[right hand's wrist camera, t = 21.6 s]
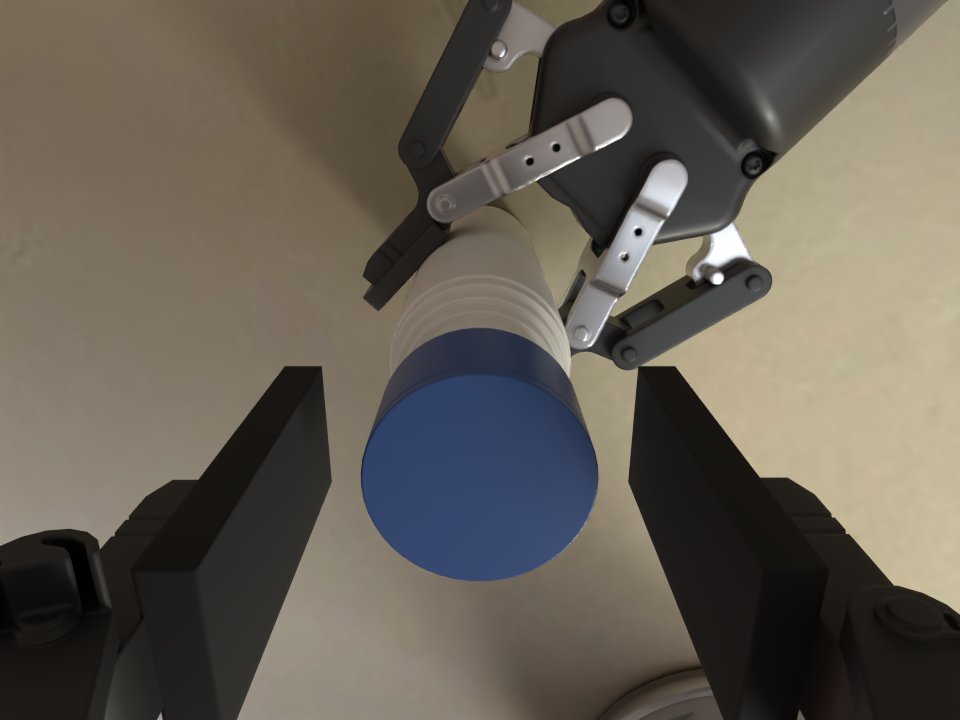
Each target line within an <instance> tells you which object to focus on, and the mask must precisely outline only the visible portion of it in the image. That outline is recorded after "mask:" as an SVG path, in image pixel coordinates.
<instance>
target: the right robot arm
mask: <svg viewBox="0 0 960 720" xmlns="http://www.w3.org/2000/svg"><path fill="white" fill-rule="evenodd" d="M331 482H332V480H331V468H330V457H329V445H328V434H327V422H326V411H325V400H324V388H323V377H322V366H285V367H284V368H283V370H282V371H281V372H280V373H279V375H278V376H277V377H276V379H275V380H274V381H273V383H272V384H271V385H270V387H269V388H268V389H267V391H266V392H265V393H264V394H263V396H262V397H261V398H260V400H259V401H258V402H257V404H256V405H255V406H254V408H253V409H252V410H251V412H250V413H249V414H248V415H247V417H246V418H245V419H244V421H243V422H242V423H241V425H240V426H239V427H238V429H237V430H236V431H235V433H234V434H233V435H232V436H231V438H230V439H229V440H228V442H227V443H226V444H225V446H224V447H223V448H222V450H221V451H220V452H219V454H218V455H217V456H216V457H215V459H214V460H213V461H212V463H211V464H210V465H209V467H208V468H207V469H206V471H205V472H204V473H203V475H202V476H201V477H200V478H199V480H172V481H170V482H169V483H167V484H165V485H164V486H162V487H161V488H159V489H157V490H156V491H154V492H152V493H151V494H149V495H148V496H146V497H145V498H144V499H143V501H142V502H141V503H140V504H139V505H138V506H137V508H136V509H135V510H134V511H133V512H132V513H131V514H130V516H129V520H125V521H124V523H123V524H122V525H121V526H120V527H119V528H118V529H117V531H116V532H115V536H114V537H111V538H110V539H109V540H108V541H107V542H106V543H105V544H104V546H103V547H102V548H101V549H100V548H99V544H98V540H97V539H96V538H95V537H93V536H92V535H91V534H89V533H88V532H84V531H79V530H73V529H61V530H48V531H43V532H39V533H35V534H31V535H27V536H23V537H20V538H18V539H16V540H13V541H11V542H9V543H6V544H4V545H1V546H0V720H157V718H158V717H159V715H160V713H162V718H163V720H237V718H238V715H239V713H240V710H241V708H242V705H243V703H244V700H245V698H246V695H247V693H248V690H249V688H250V685H251V683H252V680H253V678H254V675H255V673H256V670H257V668H258V665H259V663H260V660H261V658H262V655H263V653H264V650H265V648H266V645H267V643H268V640H269V638H270V635H271V633H272V630H273V627H274V625H275V622H276V620H277V617H278V615H279V612H280V610H281V607H282V605H283V602H284V600H285V597H286V595H287V592H288V590H289V587H290V585H291V582H292V580H293V577H294V575H295V572H296V570H297V567H298V565H299V562H300V560H301V557H302V555H303V552H304V550H305V547H306V545H307V542H308V540H309V537H310V535H311V532H312V530H313V527H314V525H315V522H316V520H317V517H318V515H319V512H320V510H321V507H322V505H323V502H324V500H325V497H326V495H327V492H328V490H329V487H330V485H331ZM628 482H629V485H630V487H631V490H632V492H633V495H634V497H635V500H636V502H637V505H638V507H639V510H640V512H641V515H642V517H643V520H644V522H645V525H646V527H647V530H648V532H649V535H650V537H651V540H652V542H653V545H654V547H655V550H656V552H657V555H658V557H659V560H660V562H661V565H662V567H663V570H664V572H665V575H666V577H667V580H668V582H669V585H670V587H671V590H672V592H673V595H674V597H675V600H676V602H677V605H678V607H679V610H680V612H681V615H682V617H683V620H684V622H685V625H686V627H687V630H688V633H689V635H690V638H691V640H692V643H693V645H694V648H695V650H696V653H697V655H698V658H699V660H700V663H701V665H702V669H695V670H689V671H684V672H679V673H675V674H672V675H668V676H665V677H662V678H660V679H657V680H654V681H652V682H650V683H647V684H645V685H643V686H641V687H639V688H637V689H636V690H634V691H632V692H630V693H629V694H627V695H626V696H625V697H623V698H622V699H620V700H619V701H618V702H616V703H615V704H614V705H613V706H612V707H610V708H609V709H608V710H607V711H606V712H605V713H604V714H603V715H602V717H601V718H600V719H599V720H960V614H958V613H957V612H956V611H954V610H953V609H952V608H950V607H949V606H948V605H946V604H944V603H942V602H940V601H938V600H936V599H934V598H932V597H930V596H928V595H926V594H924V593H921V592H917V591H914V590H911V589H907V588H904V587H900V586H894V585H893V584H892V583H891V582H890V580H889V579H888V578H887V577H886V576H885V575H884V574H883V572H882V571H881V570H880V569H879V568H878V567H877V565H876V564H875V563H874V562H873V561H872V560H871V559H870V557H869V556H868V555H867V554H866V553H865V552H864V551H863V549H862V548H861V547H860V546H859V545H858V544H857V543H856V541H855V540H854V539H853V538H852V537H851V536H850V534H846V532H845V529H844V528H843V526H842V525H841V524H840V523H839V522H838V521H837V520H836V518H832V516H831V513H830V512H829V510H828V509H827V508H826V507H825V506H824V505H823V504H822V502H821V501H820V500H819V499H818V498H817V497H816V495H815V494H813V493H812V492H810V491H808V490H807V489H805V488H803V487H802V486H800V485H799V484H797V483H795V482H794V481H792V480H791V479H789V478H760V477H759V476H758V475H757V473H756V472H755V471H754V469H753V468H752V467H751V465H750V464H749V463H748V461H747V460H746V459H745V457H744V456H743V455H742V454H741V452H740V451H739V450H738V448H737V447H736V446H735V444H734V443H733V442H732V440H731V439H730V438H729V436H728V435H727V434H726V433H725V431H724V430H723V429H722V427H721V426H720V425H719V423H718V422H717V421H716V419H715V418H714V417H713V415H712V414H711V413H710V412H709V410H708V409H707V408H706V406H705V405H704V404H703V402H702V401H701V400H700V398H699V397H698V396H697V394H696V393H695V392H694V391H693V389H692V388H691V387H690V385H689V384H688V383H687V381H686V380H685V379H684V377H683V376H682V375H681V373H680V372H679V371H678V370H677V368H676V367H675V366H638V377H637V388H636V400H635V411H634V422H633V434H632V445H631V457H630V468H629V480H628Z"/></svg>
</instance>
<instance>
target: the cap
mask: <svg viewBox="0 0 960 720" xmlns="http://www.w3.org/2000/svg"><path fill="white" fill-rule="evenodd" d="M361 487H362V493H363V498H364V502H365V505H366V508H367V511H368V513H369V515H370V517H371V519H372V521H373V523H374V525H375V527H376V528H377V530H378V531H379V532H380V534H381V535H382V537H383V538H384V539H385V540H386V541H387V542H388V543H389V544H390V546H391V547H392V548H394V549H395V550H396V551H397V552H398V553H399V554H401V555H402V556H403V557H405V558H406V559H408V560H409V561H411V562H412V563H414V564H415V565H417V566H419V567H421V568H423V569H425V570H427V571H430V572H433V573H436V574H438V575H441V576H445V577H449V578H453V579H460V580H467V581H491V580H500V579H505V578H510V577H514V576H518V575H521V574H524V573H527V572H529V571H531V570H534V569H536V568H538V567H540V566H542V565H544V564H545V563H547V562H549V561H550V560H552V559H553V558H555V557H556V556H557V555H559V554H560V553H561V552H563V551H564V550H565V549H566V548H567V547H568V546H569V545H570V544H571V543H572V542H573V541H574V539H575V538H576V537H577V535H578V534H579V533H580V532H581V530H582V529H583V527H584V525H585V523H586V522H587V520H588V518H589V516H590V513H591V511H592V509H593V506H594V502H595V498H596V495H597V487H598V465H597V460H596V455H595V451H594V448H593V445H592V442H591V439H590V436H589V433H588V430H587V427H586V424H585V421H584V418H583V415H582V412H581V409H580V406H579V403H578V400H577V397H576V394H575V391H574V388H573V386H572V383H571V381H570V380H569V378H568V376H567V374H566V372H565V371H564V370H563V368H562V367H561V366H560V364H559V363H558V362H557V361H556V360H555V359H554V358H553V357H552V356H551V355H550V354H549V353H548V352H547V351H545V350H544V349H543V348H542V347H540V346H539V345H537V344H536V343H534V342H532V341H531V340H529V339H527V338H524V337H522V336H520V335H517V334H515V333H511V332H508V331H504V330H499V329H492V328H468V329H460V330H456V331H452V332H448V333H445V334H442V335H440V336H437V337H435V338H433V339H431V340H429V341H427V342H425V343H424V344H422V345H421V346H419V347H418V348H416V349H415V350H414V351H413V352H411V353H410V354H409V355H408V356H407V357H406V358H405V359H404V360H403V361H402V362H401V364H400V365H399V366H398V367H397V369H396V370H395V372H394V373H393V375H392V377H391V378H390V380H389V382H388V385H387V387H386V389H385V392H384V395H383V398H382V401H381V404H380V407H379V410H378V413H377V415H376V418H375V421H374V424H373V427H372V430H371V433H370V436H369V439H368V442H367V445H366V448H365V452H364V456H363V459H362V468H361Z"/></svg>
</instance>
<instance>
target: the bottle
mask: <svg viewBox="0 0 960 720" xmlns="http://www.w3.org/2000/svg"><path fill="white" fill-rule="evenodd" d="M468 328H492V329H499V330H504V331H508V332H511V333H515V334H517V335H520V336H522V337H524V338H527V339H529V340H531V341H532V342H534V343H536V344H537V345H539V346H540V347H542V348H543V349H544V350H545V351H547V352H548V353H549V354H550V355H551V356H552V357H553V358H554V359H555V360H556V361H557V362H558V363H559V364H560V366H561V367H562V368H563V370H564V371H565V372H566V374H567V376H568V378H569V375H570V365H571V352H570V346H569V340H568V337H567V334H566V330H565V328H564V325H563V322H562V320H561V317H560V315H559V312H558V310H557V307H556V304H555V302H554V299H553V297H552V294H551V291H550V289H549V286H548V284H547V281H546V278H545V276H544V273H543V271H542V268H541V266H540V263H539V260H538V258H537V255H536V253H535V250H534V247H533V245H532V242H531V240H530V237H529V235H528V233H527V231H526V230H525V228H524V227H523V226H522V224H521V223H520V222H519V221H518V220H517V219H516V218H515V217H513V216H512V215H511V214H509V213H508V212H506V211H504V210H502V209H499V208H496V207H492V206H487V205H484V206H482V207H480V208H478V209H476V210H474V211H472V212H470V213H469V214H467V215H465V216H463V217H461V218H459V219H457V220H455V221H453V222H452V224H451V229H450V233H449V236H448V237H447V238H446V239H445V241H444V242H443V243H442V244H441V245H440V246H439V247H438V248H437V249H436V250H435V251H434V252H433V253H432V254H431V255H430V256H429V257H428V258H427V259H426V260H425V262H424V263H423V264H422V265H421V266H420V267H419V268H418V271H417V274H416V276H415V279H414V281H413V284H412V286H411V289H410V291H409V294H408V297H407V299H406V302H405V304H404V307H403V309H402V312H401V314H400V317H399V319H398V322H397V325H396V327H395V330H394V333H393V336H392V339H391V344H390V350H389V366H390V377H392V375H393V373H394V372H395V370H396V369H397V367H398V366H399V365H400V364H401V362H402V361H403V360H404V359H405V358H406V357H407V356H408V355H409V354H410V353H411V352H413V351H414V350H415V349H416V348H418V347H419V346H421V345H422V344H424V343H425V342H427V341H429V340H431V339H433V338H435V337H437V336H440V335H442V334H445V333H448V332H452V331H456V330H460V329H468Z"/></svg>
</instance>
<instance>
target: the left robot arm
mask: <svg viewBox="0 0 960 720" xmlns="http://www.w3.org/2000/svg"><path fill="white" fill-rule="evenodd" d="M947 1H948V0H603V1H602V2H601V4H600V5H599V6H598V7H597V8H596V9H595V10H593V11H592V12H590V13H589V14H587V15H585V16H583V17H580V18H578V19H574V20H571V21H568V22H566V23H564V24H562V25H561V26H559V27H558V28H557V27H555V26H554V25H552V24H551V23H549V22H548V21H546V20H544V19H543V18H541V17H540V16H538V15H536V14H535V13H533V12H532V11H530V10H529V9H527V8H525V7H524V6H522V5H521V4H519V3H518V2H516V1H514V0H469V1H468V3H467V5H466V7H465V9H464V11H463V13H462V15H461V17H460V19H459V21H458V23H457V25H456V28H455V30H454V32H453V34H452V36H451V38H450V40H449V42H448V44H447V46H446V48H445V50H444V52H443V54H442V56H441V58H440V60H439V62H438V64H437V66H436V68H435V70H434V72H433V74H432V76H431V78H430V80H429V82H428V84H427V86H426V88H425V90H424V92H423V95H422V97H421V99H420V101H419V103H418V105H417V107H416V109H415V111H414V113H413V115H412V117H411V119H410V121H409V123H408V125H407V127H406V129H405V131H404V133H403V135H402V137H401V139H400V142H399V146H398V151H399V156H400V158H401V160H402V161H403V162H404V163H405V164H406V165H407V167H408V169H409V171H410V173H411V175H412V177H413V179H414V181H415V183H416V185H417V187H418V191H419V199H418V203H417V206H416V207H415V208H414V209H413V210H412V212H411V213H410V214H409V215H408V216H407V217H406V218H405V219H404V220H403V222H402V223H401V224H400V225H399V226H398V227H397V228H396V229H395V230H394V232H393V233H392V234H391V235H390V236H389V237H388V238H387V239H386V240H385V242H384V243H383V244H382V245H381V246H380V247H379V248H378V249H377V250H376V252H375V253H374V254H373V255H372V256H371V258H370V259H369V261H368V262H367V265H366V268H365V271H364V274H363V277H364V278H365V279H367V280H368V281H369V282H370V283H371V284H372V285H371V286H370V287H369V289H368V290H367V292H366V293H365V295H364V297H363V299H365V300H366V301H367V302H368V303H369V304H370V305H371V306H373V307H374V308H375V309H376V310H377V311H379V310H380V309H381V308H382V307H383V306H384V305H385V304H386V303H387V302H388V301H389V300H390V299H391V298H392V296H393V295H394V294H395V293H396V292H397V291H398V290H399V289H400V288H401V287H402V286H403V285H404V284H405V282H406V281H407V280H408V279H409V278H410V277H411V276H412V275H413V274H414V273H415V272H416V271H417V270H418V268H419V267H420V266H421V265H422V264H423V263H424V262H425V260H426V259H427V258H428V257H429V256H430V255H431V254H432V253H433V252H434V251H435V250H436V249H437V248H438V247H439V246H440V245H441V244H442V243H443V242H444V241H445V239H446V238H447V237H448V236H449V233H450V229H451V224H452V222H453V221H455V220H457V219H459V218H461V217H463V216H465V215H467V214H469V213H470V212H472V211H474V210H476V209H478V208H480V207H482V206H484V205H486V204H488V203H490V202H492V201H494V200H496V199H498V198H500V197H503V196H506V195H509V194H511V193H513V192H515V191H517V190H519V189H521V188H523V187H525V186H527V185H529V184H531V183H533V182H534V181H536V182H537V183H538V184H539V185H540V186H541V187H542V188H543V189H544V190H545V191H546V192H547V193H548V194H549V195H550V196H551V197H552V198H554V199H556V200H557V201H559V202H561V203H563V204H564V205H566V206H568V207H570V209H571V211H572V213H573V214H574V216H575V218H576V220H577V222H578V223H579V224H580V225H581V226H582V227H583V229H584V230H585V231H586V232H587V233H588V234H589V235H590V238H589V240H588V242H587V244H586V246H585V248H584V250H583V252H582V255H581V257H580V260H579V265H578V268H577V271H576V273H575V275H574V277H573V279H572V281H571V283H570V285H569V287H568V289H567V291H566V293H565V295H564V297H563V299H562V301H561V303H560V305H559V307H558V309H557V310H558V312H559V315H560V317H561V320H562V322H563V325H564V328H565V330H566V334H567V337H568V340H569V346H570V352H571V357H572V356H573V355H575V354H577V353H579V352H593V353H596V354H598V355H600V356H603V357H605V358H608V359H610V360H612V361H613V362H614V363H615V365H616V366H617V367H619V368H620V369H623V370H633V369H636V368H638V366H641V365H643V364H645V363H646V362H648V361H650V360H652V359H654V358H655V357H657V356H659V355H661V354H662V353H664V352H666V351H668V350H670V349H671V348H673V347H675V346H677V345H678V344H680V343H682V342H684V341H686V340H687V339H689V338H691V337H693V336H694V335H696V334H698V333H700V332H702V331H703V330H705V329H707V328H709V327H710V326H712V325H714V324H716V323H718V322H719V321H721V320H723V319H725V318H726V317H728V316H730V315H732V314H734V313H735V312H737V311H739V310H741V309H742V308H744V307H746V306H748V305H750V304H751V303H753V302H755V301H757V300H758V299H760V298H762V297H763V296H765V295H766V294H767V293H768V291H769V290H770V288H771V285H772V276H771V274H770V272H769V271H768V270H767V269H766V268H764V267H763V266H761V265H760V264H759V263H757V262H755V261H754V260H753V258H752V256H751V254H750V252H749V250H748V248H747V246H746V244H745V242H744V240H743V238H742V236H741V234H740V232H739V230H738V228H737V226H736V224H735V222H734V220H735V219H736V217H737V216H738V214H739V212H740V210H741V207H742V205H743V202H744V199H745V197H746V195H747V193H748V191H749V189H750V188H751V186H752V185H753V183H754V182H755V181H756V180H757V179H758V178H759V177H760V176H761V175H762V174H763V173H764V172H766V171H767V170H768V169H769V168H770V167H772V166H773V165H774V164H775V163H776V162H777V161H778V160H780V159H781V158H782V157H783V156H784V155H785V154H786V153H787V152H788V151H789V150H790V149H791V148H792V147H793V146H794V145H795V144H796V143H798V142H799V141H800V140H801V139H802V138H803V137H804V136H805V135H806V134H807V133H808V132H809V131H810V130H811V129H812V128H813V127H814V126H816V125H817V124H818V123H819V122H820V121H821V120H822V119H823V118H824V117H825V116H826V115H827V114H828V113H829V112H830V111H831V110H832V109H834V108H835V107H836V106H837V105H838V104H839V103H840V102H841V101H842V100H843V99H844V98H845V97H846V96H847V95H848V94H849V93H850V92H851V91H853V90H854V89H855V88H856V87H857V86H858V85H859V84H860V83H861V82H862V81H863V80H864V79H865V78H866V77H867V76H868V75H869V74H870V73H871V72H873V71H874V70H875V69H876V68H877V67H878V66H879V65H880V64H881V63H882V62H883V61H884V60H885V59H886V58H887V57H889V56H890V55H891V54H892V53H893V52H894V51H895V50H896V49H897V48H898V47H899V46H900V45H901V44H902V43H903V42H904V41H905V40H906V39H908V38H909V37H910V36H911V35H912V34H913V33H914V32H915V31H916V30H917V29H918V28H919V27H920V26H921V25H922V24H923V23H924V22H925V21H927V20H928V19H929V18H930V17H931V16H932V15H933V14H934V13H935V12H936V11H937V10H938V9H939V8H940V7H941V6H942V5H944V4H945V3H946V2H947ZM529 54H530V55H535V56H537V57H539V65H538V71H537V78H536V85H535V92H534V98H533V105H532V112H531V119H530V125H529V132H528V133H527V134H525V135H523V136H521V137H519V138H517V139H515V140H514V141H512V142H510V143H508V144H506V145H504V146H502V147H500V148H499V149H497V150H495V151H493V152H491V153H489V154H488V155H486V156H485V157H483V158H481V159H480V160H478V161H476V162H474V163H472V164H470V165H468V166H466V167H465V168H463V169H461V170H459V171H457V172H454V170H453V168H452V166H451V164H450V162H449V160H448V158H447V156H446V154H445V152H444V150H443V148H442V147H443V145H444V143H445V141H446V139H447V137H448V135H449V133H450V131H451V129H452V127H453V125H454V124H455V122H456V120H457V118H458V116H459V114H460V112H461V110H462V108H463V106H464V104H465V102H466V100H467V98H468V96H469V94H470V92H471V91H472V89H473V87H474V85H475V83H476V81H477V79H478V77H479V75H480V73H481V71H482V69H483V68H484V69H486V70H488V71H490V72H492V73H502V72H505V71H506V70H508V69H509V68H510V67H511V66H512V64H513V63H514V62H515V61H516V60H517V59H518V58H519V57H521V56H523V55H529ZM700 236H703V243H702V246H701V248H700V249H699V251H698V252H697V253H695V254H694V255H693V256H692V257H691V258H690V259H689V260H688V262H687V265H686V274H687V275H686V276H684V277H682V278H680V279H679V280H677V281H675V282H674V283H672V284H670V285H668V286H667V287H665V288H663V289H662V290H660V291H658V292H656V293H655V294H653V295H651V296H650V297H648V298H646V299H644V300H643V301H641V302H639V303H638V304H636V305H634V306H632V307H631V308H629V309H627V310H626V311H624V312H622V313H620V314H619V315H617V316H615V317H613V316H610V314H611V312H612V310H613V308H614V306H615V304H616V303H617V301H618V299H619V298H620V297H621V296H623V295H624V294H625V293H626V292H627V291H628V289H629V287H630V286H631V284H632V282H633V280H634V278H635V276H636V274H637V272H638V271H639V269H640V267H641V265H642V263H643V261H644V259H645V257H646V256H647V254H648V252H649V250H650V248H651V246H652V245H656V244H662V243H667V242H672V241H678V240H683V239H689V238H694V237H700ZM623 254H626V256H625V257H624V258H621V257H622V255H623Z"/></svg>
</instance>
